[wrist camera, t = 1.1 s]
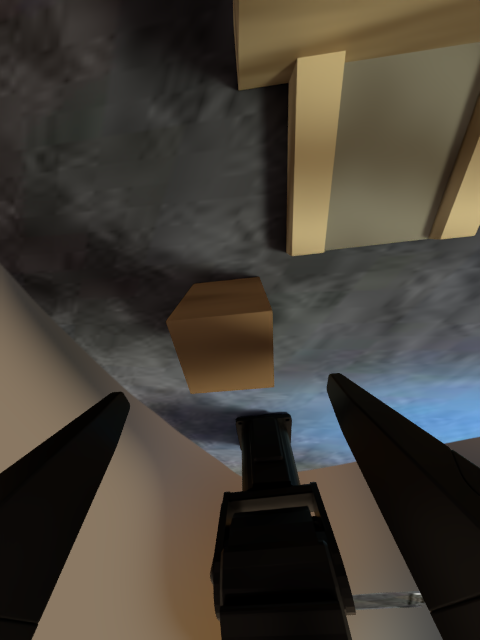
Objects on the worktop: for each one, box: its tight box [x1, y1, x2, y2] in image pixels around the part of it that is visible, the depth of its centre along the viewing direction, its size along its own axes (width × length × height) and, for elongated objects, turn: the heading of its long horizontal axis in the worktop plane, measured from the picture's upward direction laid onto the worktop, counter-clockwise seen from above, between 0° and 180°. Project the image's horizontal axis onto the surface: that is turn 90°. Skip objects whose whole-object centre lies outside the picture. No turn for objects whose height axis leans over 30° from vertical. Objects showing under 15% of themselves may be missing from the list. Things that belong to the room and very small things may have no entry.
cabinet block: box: [166, 277, 274, 394], centre depth 12 cm, size 6×5×6 cm
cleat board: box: [233, 0, 480, 256], centre depth 7 cm, size 10×16×6 cm, turn 96°
